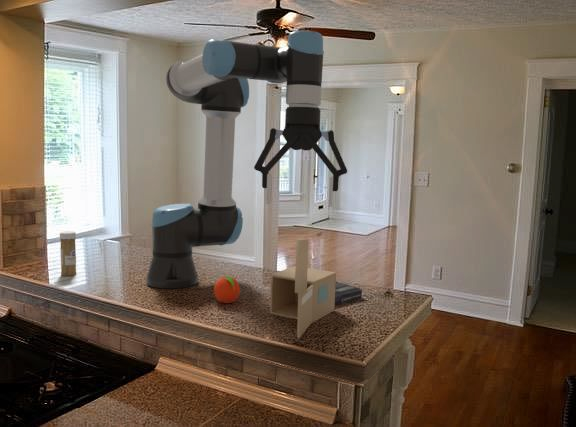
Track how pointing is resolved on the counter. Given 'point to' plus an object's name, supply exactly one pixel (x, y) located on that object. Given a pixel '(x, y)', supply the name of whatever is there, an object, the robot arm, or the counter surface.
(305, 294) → the tan tapered piece
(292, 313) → the carton
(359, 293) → the box
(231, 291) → the clementine
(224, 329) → the counter surface
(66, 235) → the sprinkles bottle
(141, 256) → the counter surface
